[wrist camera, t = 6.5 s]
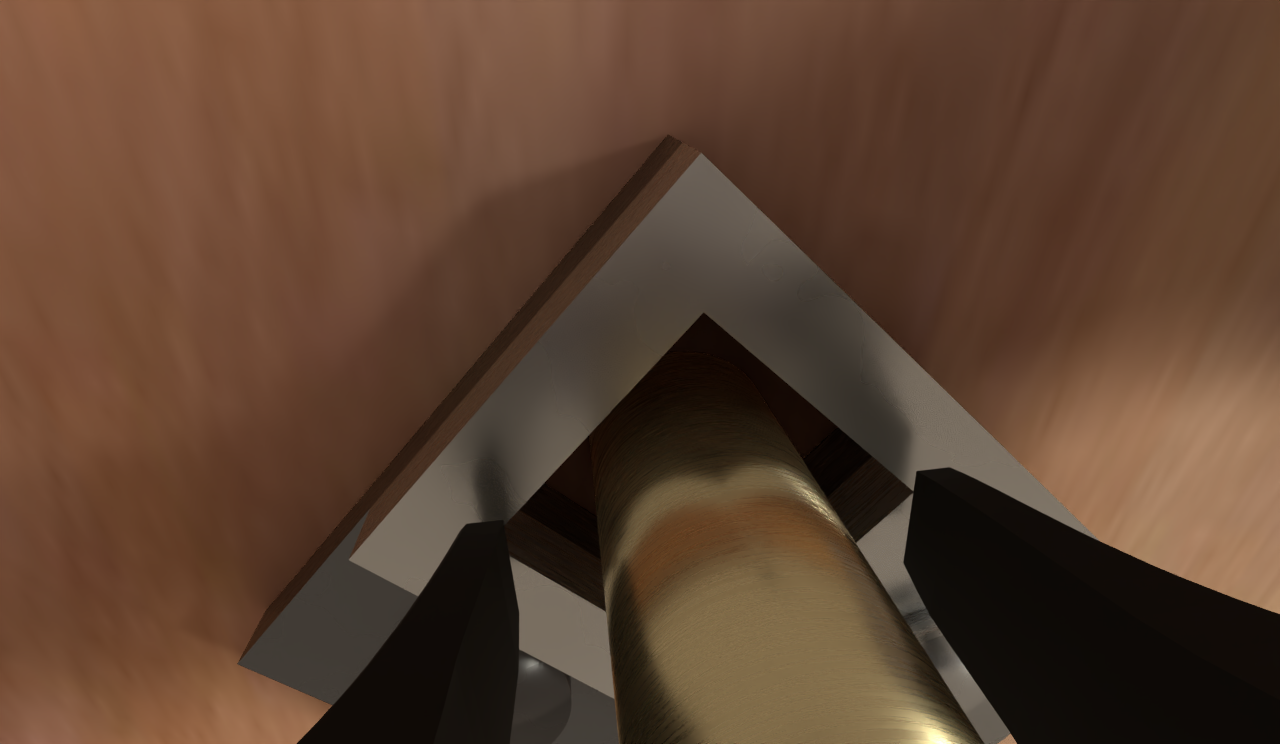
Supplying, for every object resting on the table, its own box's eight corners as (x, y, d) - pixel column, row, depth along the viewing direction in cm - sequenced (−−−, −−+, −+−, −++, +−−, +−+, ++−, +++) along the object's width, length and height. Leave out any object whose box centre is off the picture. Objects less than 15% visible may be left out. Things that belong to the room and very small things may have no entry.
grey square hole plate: (387, 467, 14) (334, 592, 11) (668, 134, 12) (713, 159, 9) (808, 716, 19) (864, 857, 16) (1059, 512, 17) (1187, 623, 14)
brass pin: (801, 420, 15) (1094, 833, 7) (681, 534, 16) (815, 1016, 8) (674, 314, 14) (856, 677, 5) (551, 446, 15) (550, 924, 6)
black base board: (668, 134, 12) (691, 147, 10) (949, 405, 15) (1011, 458, 13) (265, 611, 15) (220, 696, 13) (565, 752, 19) (567, 838, 17)
